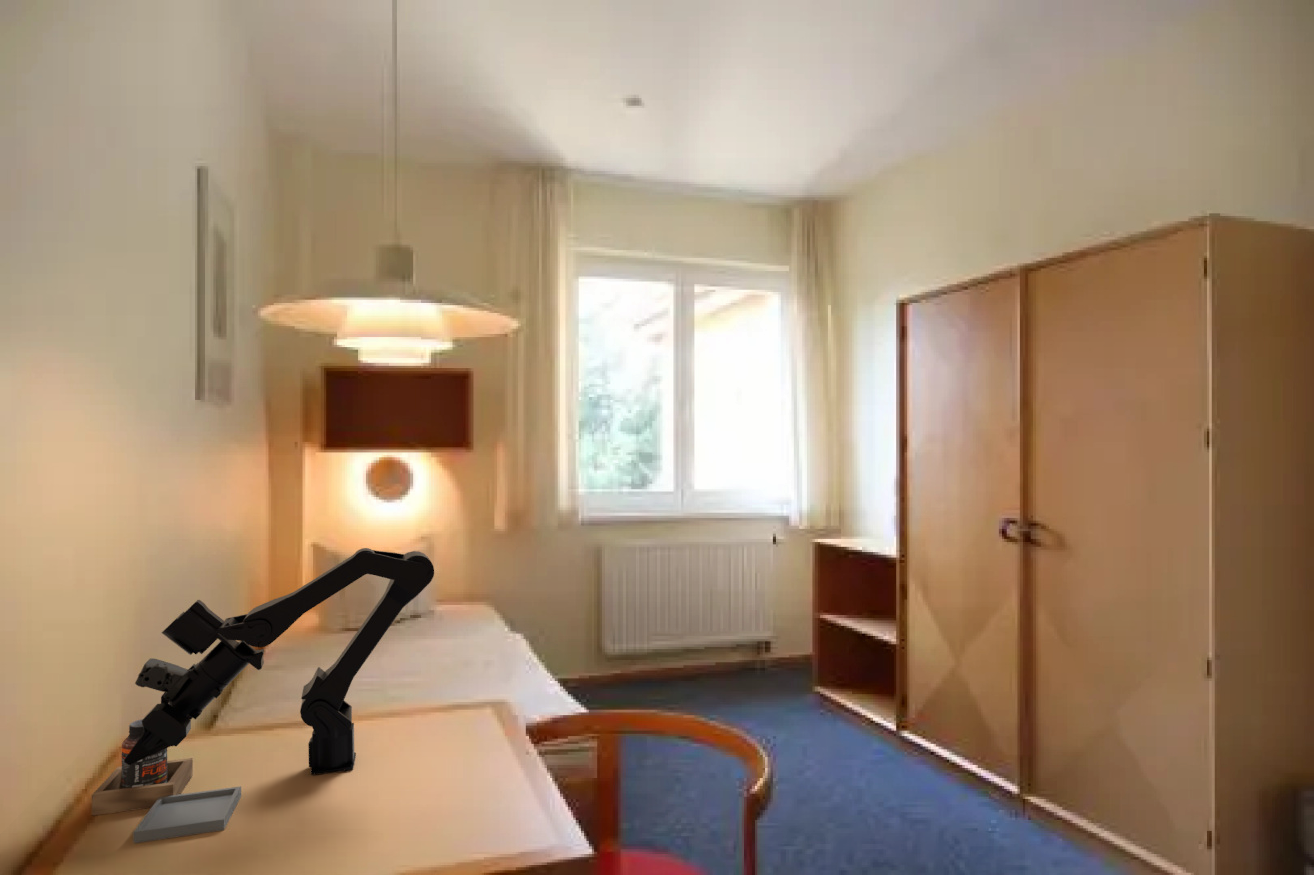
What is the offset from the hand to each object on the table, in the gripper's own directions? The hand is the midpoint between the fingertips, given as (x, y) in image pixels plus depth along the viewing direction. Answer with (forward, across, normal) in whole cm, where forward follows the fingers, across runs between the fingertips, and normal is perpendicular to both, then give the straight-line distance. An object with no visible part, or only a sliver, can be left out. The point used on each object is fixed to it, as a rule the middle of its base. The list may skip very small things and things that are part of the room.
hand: (133, 752), depth 120 cm
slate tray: (-2, +12, +12) cm, 16 cm away
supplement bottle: (+4, 0, +6) cm, 7 cm away
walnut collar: (+4, 0, +6) cm, 7 cm away
